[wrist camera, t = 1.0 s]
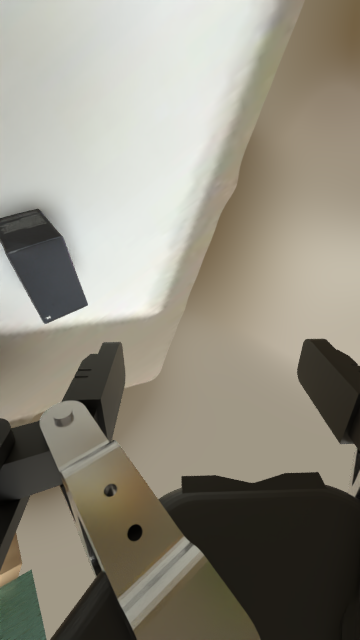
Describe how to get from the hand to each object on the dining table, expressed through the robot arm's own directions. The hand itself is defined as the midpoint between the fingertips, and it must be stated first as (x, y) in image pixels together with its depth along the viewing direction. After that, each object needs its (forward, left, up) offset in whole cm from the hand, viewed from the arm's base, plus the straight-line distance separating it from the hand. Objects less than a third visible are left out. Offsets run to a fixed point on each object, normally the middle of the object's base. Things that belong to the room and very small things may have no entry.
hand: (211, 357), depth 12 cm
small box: (+6, -8, -36) cm, 37 cm away
